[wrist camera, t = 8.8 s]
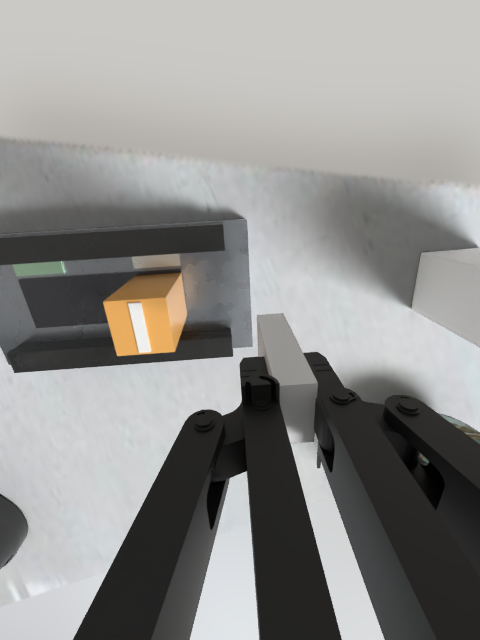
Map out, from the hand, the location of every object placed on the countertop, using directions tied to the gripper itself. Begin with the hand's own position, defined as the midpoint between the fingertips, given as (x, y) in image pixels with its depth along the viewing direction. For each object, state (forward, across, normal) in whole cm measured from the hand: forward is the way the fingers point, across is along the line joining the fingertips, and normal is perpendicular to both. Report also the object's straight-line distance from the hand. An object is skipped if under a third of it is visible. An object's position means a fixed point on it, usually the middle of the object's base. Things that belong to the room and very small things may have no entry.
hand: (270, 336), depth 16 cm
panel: (+12, +12, 0) cm, 17 cm away
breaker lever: (+10, +8, 0) cm, 13 cm away
